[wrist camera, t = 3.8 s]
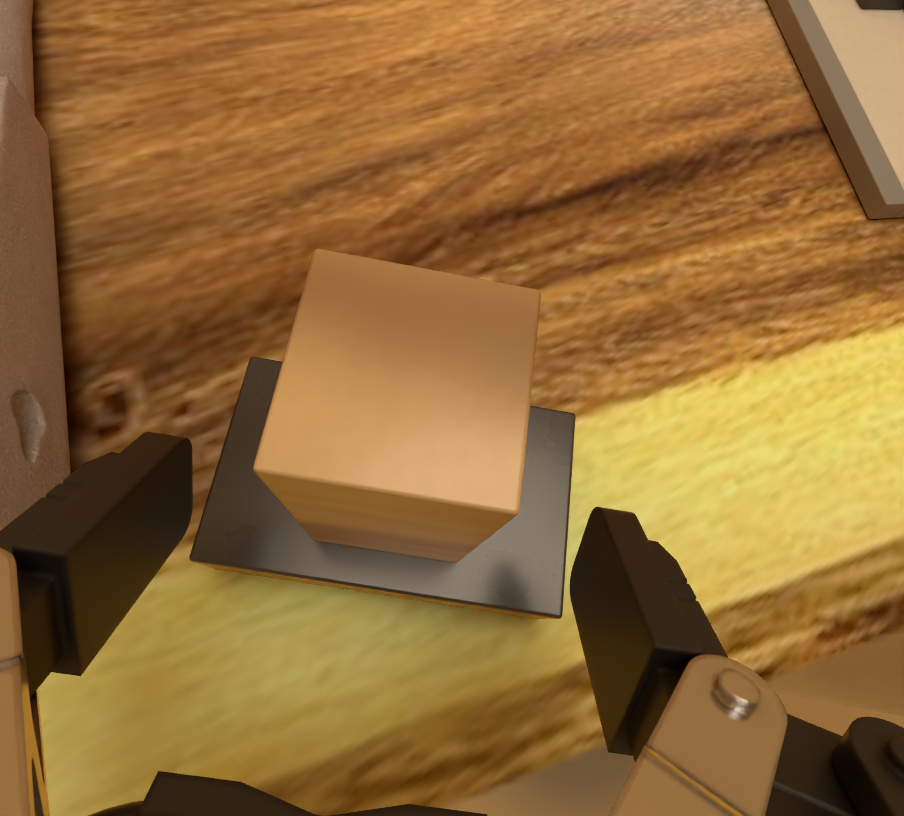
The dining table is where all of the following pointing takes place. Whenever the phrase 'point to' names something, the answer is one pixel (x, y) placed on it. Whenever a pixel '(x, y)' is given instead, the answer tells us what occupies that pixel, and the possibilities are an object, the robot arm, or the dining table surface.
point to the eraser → (399, 446)
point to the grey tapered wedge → (27, 286)
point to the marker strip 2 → (881, 4)
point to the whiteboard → (855, 89)
